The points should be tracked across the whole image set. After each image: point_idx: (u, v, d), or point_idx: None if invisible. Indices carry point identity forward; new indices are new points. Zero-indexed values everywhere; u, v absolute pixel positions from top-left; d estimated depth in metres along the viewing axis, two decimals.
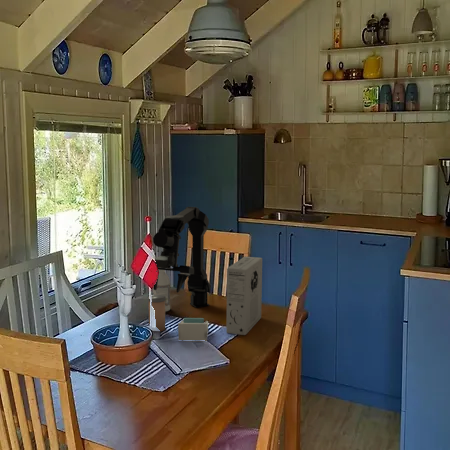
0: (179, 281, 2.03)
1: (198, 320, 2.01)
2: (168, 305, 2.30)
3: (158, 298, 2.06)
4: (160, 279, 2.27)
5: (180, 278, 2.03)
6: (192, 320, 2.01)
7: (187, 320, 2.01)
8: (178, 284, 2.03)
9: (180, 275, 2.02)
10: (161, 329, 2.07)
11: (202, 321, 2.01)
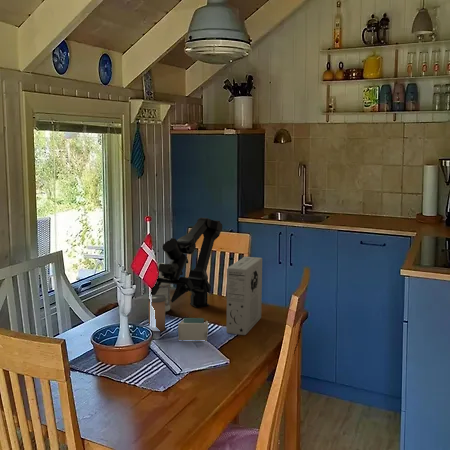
0: (176, 291, 2.09)
1: (198, 320, 2.01)
2: (168, 305, 2.30)
3: (158, 298, 2.06)
4: None
5: (178, 288, 2.10)
6: (192, 320, 2.01)
7: (187, 320, 2.01)
8: (174, 293, 2.09)
9: (178, 284, 2.09)
10: (161, 329, 2.07)
11: (202, 321, 2.01)
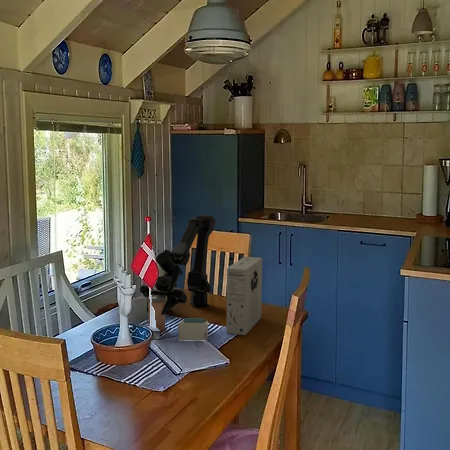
0: (167, 303, 2.06)
1: (198, 320, 2.01)
2: None
3: (158, 298, 2.06)
4: None
5: (168, 300, 2.07)
6: (192, 320, 2.01)
7: (187, 320, 2.01)
8: (165, 306, 2.06)
9: (169, 297, 2.06)
10: (161, 329, 2.07)
11: (202, 321, 2.01)
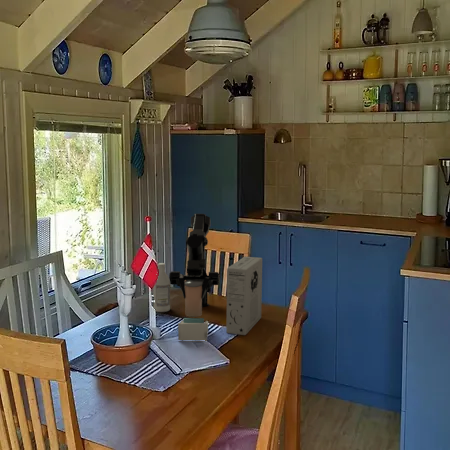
0: (204, 286, 2.05)
1: (198, 320, 2.01)
2: (168, 305, 2.30)
3: (197, 282, 2.03)
4: (160, 279, 2.27)
5: (206, 283, 2.05)
6: (192, 320, 2.01)
7: (187, 320, 2.01)
8: (203, 289, 2.05)
9: (206, 280, 2.05)
10: (200, 313, 2.05)
11: (202, 321, 2.01)
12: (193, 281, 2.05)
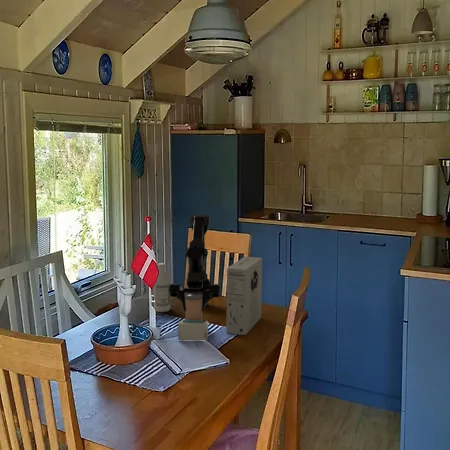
0: (205, 299, 2.03)
1: (197, 322, 1.99)
2: (168, 305, 2.30)
3: (197, 295, 2.01)
4: (160, 279, 2.27)
5: (206, 296, 2.03)
6: (192, 322, 1.99)
7: (187, 322, 1.99)
8: (204, 302, 2.02)
9: (207, 292, 2.03)
10: None
11: None
12: (193, 294, 2.02)
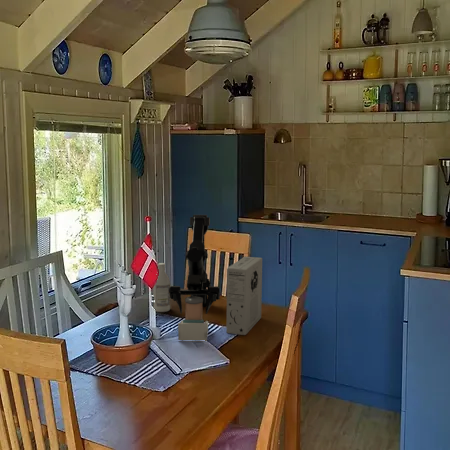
0: (208, 301, 2.03)
1: (197, 322, 1.99)
2: (168, 305, 2.30)
3: (197, 299, 2.01)
4: (160, 279, 2.27)
5: (210, 298, 2.03)
6: (192, 322, 1.99)
7: (187, 322, 1.99)
8: (207, 304, 2.02)
9: (210, 294, 2.03)
10: None
11: None
12: (193, 298, 2.03)
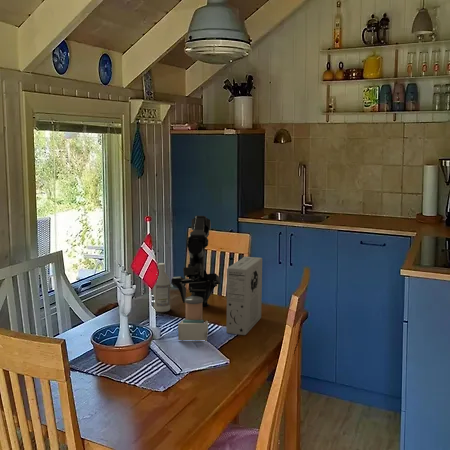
0: (207, 289, 2.10)
1: (197, 322, 1.99)
2: (168, 305, 2.30)
3: (197, 299, 2.01)
4: (160, 279, 2.27)
5: (208, 286, 2.10)
6: (192, 322, 1.99)
7: (187, 322, 1.99)
8: (206, 292, 2.10)
9: (208, 282, 2.10)
10: None
11: None
12: (193, 298, 2.03)
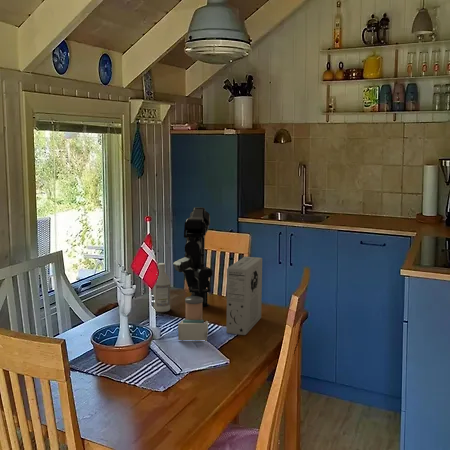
0: (198, 283, 2.10)
1: (197, 322, 1.99)
2: (168, 305, 2.30)
3: (197, 299, 2.01)
4: (160, 279, 2.27)
5: (198, 280, 2.09)
6: (192, 322, 1.99)
7: (187, 322, 1.99)
8: (198, 285, 2.11)
9: (196, 278, 2.09)
10: None
11: None
12: (193, 298, 2.03)
